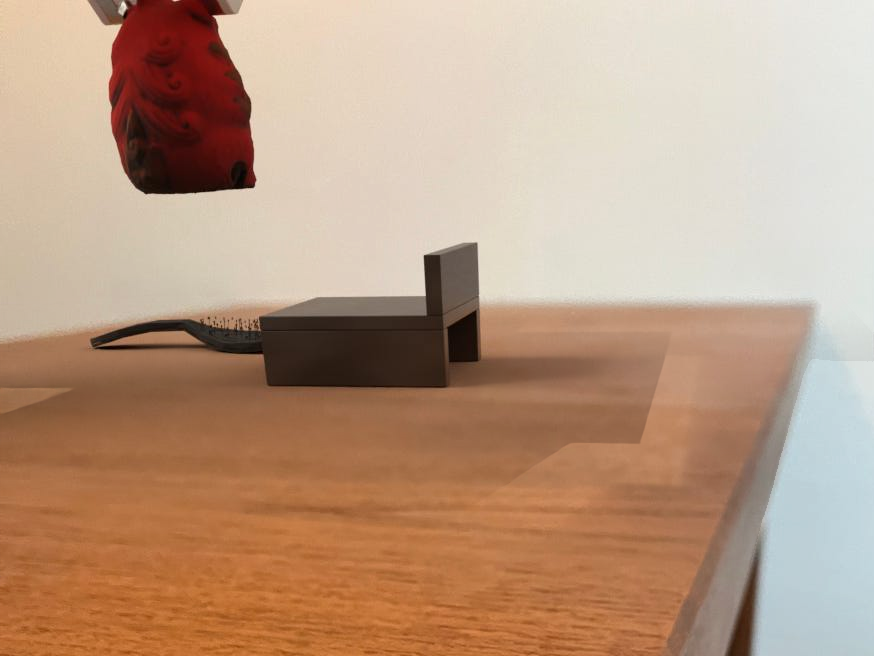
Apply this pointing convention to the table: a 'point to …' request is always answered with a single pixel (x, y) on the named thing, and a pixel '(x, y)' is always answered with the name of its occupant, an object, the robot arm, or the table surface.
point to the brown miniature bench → (381, 332)
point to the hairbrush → (195, 334)
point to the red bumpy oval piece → (179, 102)
